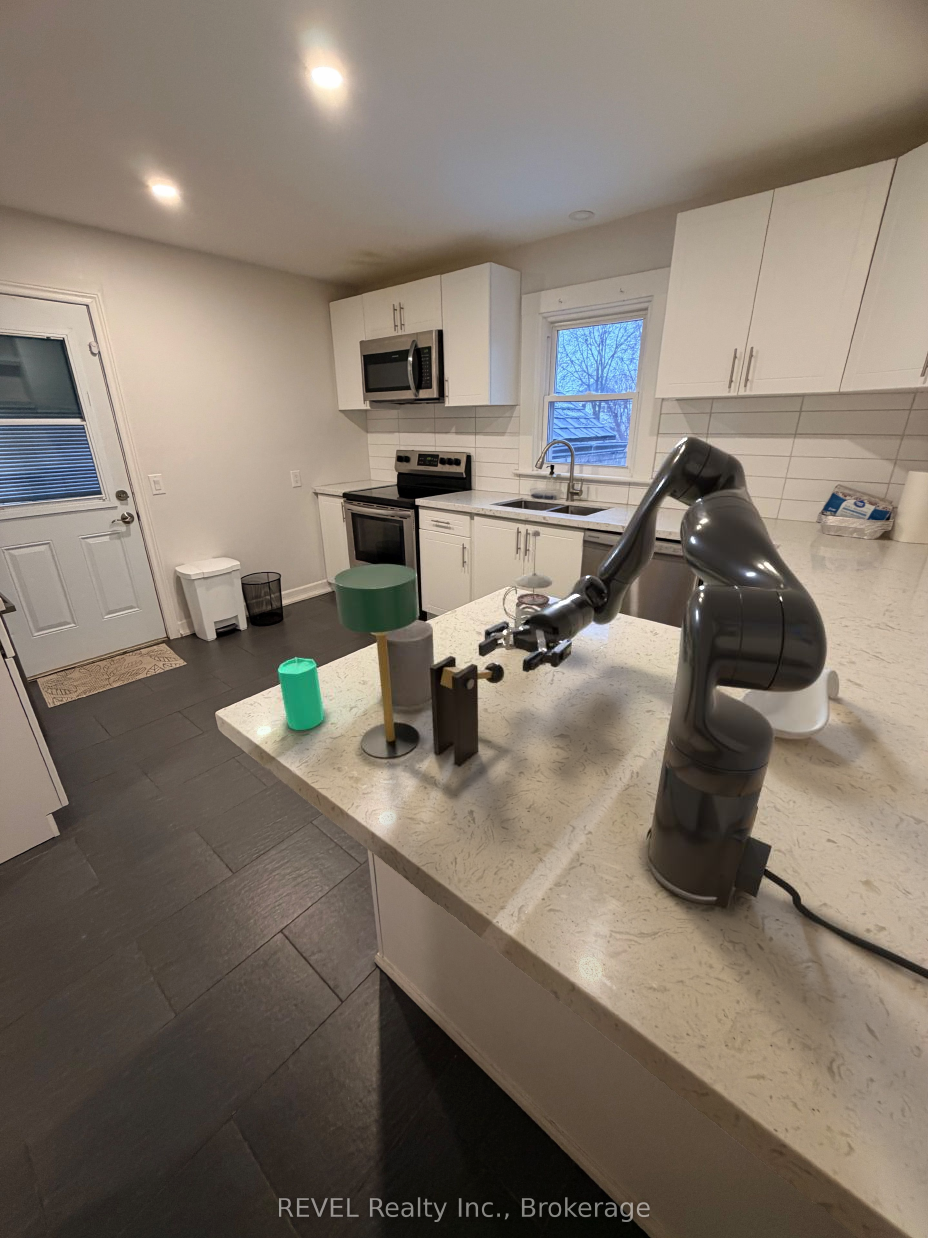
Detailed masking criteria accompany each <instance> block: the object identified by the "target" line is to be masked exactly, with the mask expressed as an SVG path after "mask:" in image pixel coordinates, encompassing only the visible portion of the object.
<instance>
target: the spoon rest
mask: <svg viewBox="0 0 928 1238" xmlns="http://www.w3.org/2000/svg"><path fill="white" fill-rule="evenodd" d="M839 691H840V679H839V674H838V672H837V671H836V670H834V669H830V668H825V667H824V669H823V671H822V673H821V675H820V677H819V678H818V679H817V681H816V682H814V683H813V684H812V685H811V686H810V687H808V688H806V689H803V690H801V691H796V692H769V691H759V690H750V689H749V690H748V691H746V693H745V692H744V694H743V695H742V697H741V698H740V701H742V702H744V703H746V704H748V705H749V706H751V707H753V708H754V709H756V710H757V711H759V712H760V713H761V714H762V715H763V716H765V718H766V719H767V720H768V721H769V722H770V724H771V726H772V727H773V730H774V736H775V737H778V738H782V739H786V740H804V739H807V738H811V737H813V736H815V735H817V734H819V733H820V732H822V731H823V730H824V729H825V728H826V726H827V725H828V723H829V720H830V713H831V711H830V699H829V697H832V698H837V697H838V696H839Z"/></svg>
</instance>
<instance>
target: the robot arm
mask: <svg viewBox="0 0 928 1238" xmlns="http://www.w3.org/2000/svg"><path fill="white" fill-rule="evenodd" d="M667 497H670V498H671V499H673V500H676V501H677V502H679V503H681V504H683V505H685V506H687V507H688V509H686V511H685V512H684V514H683V516H682V519H681V522H680V525H679V538H680V544H681V550H682V555H683V558H684V560H685V563H686V565H687V566H688V567H689V569H690V570H691V572H693V574H694V575H695V576H696V577H698V578H699V579H700V580H701V581H702V582H704V583H705V584H702V585H699V586H697V587H695V589H694V590H693V591H692V592H691V594H690V595H689V597H688V599H687V601H686V603H685V607H684V611H683V615H682V619H681V621H682V622H681V628H680V638H679V648H678V658H677V667H676V669H677V670H676V677H675V684H674V690H673V697H672V701H671V702H672V703H671V710H670V715H669V716H670V717H669V721H668V728H667V732H666V733H667V734H666V739H665V745H664V751H663V757H662V761H661V768H660V774H659V780H658V786H657V791H656V797H655V798H656V799H655V803H654V804H655V805H654V810H653V815H652V822H651V826H650V828H649V829H648V831H647V833H646V839H645V840H648V842H647V844H646V845H647V846H646V851H645V852H646V853H645V856H646V857H645V859H646V863H647V866H648V868H649V871H650V872H651V874H652V876H653V877H654V878H655V879H656V881H658V883H659V884H660V885H662V886H663V887H664V888H665V889H666V890H667V891H669V892H671V893H672V894H673V895H675V896H677V897H680V898H681V899H684V900H687V901H689V902H693V903H697V904H705V905H711V904H712V905H713V904H715V905H718V906H720V907H721V908H723V909H728V908H729V906H730V903H731V901H732V898H733V895H734V894H735V891H736V890H738V891H741V892H743V893H744V894H747V895H749V896H750V897H752V898H754V899H757V897H758V894H759V890H760V887H761V883H762V881H763V877H765V878H767V879H768V880H769V881H770V882H772V883H774V884H775V885H777V886H778V887H780V888H781V889H782V890H784V891H785V892H786V893H787V894H788V895H789V896H790V897H791V902H792V904H793V906H794V908H795V909H796V910H797V911H798V912H799V913H800V914H802V915H803V916H804V917H806V918H807V919H808V920H810V921H812V922H814V923H816V924H818V925H820V926H822V927H823V928H825V929H827V930H829V931H831V932H832V933H834V934H836V935H837V936H839V937H840V938H842V939H844V940H846V941H848V942H849V943H851V944H854V945H855V946H857V947H860V948H861V949H864V950H866V951H868V952H870V953H872V954H874V955H877V956H879V957H882V958H883V959H886V960H888V961H890V962H892V963H894V964H896V965H898V966H900V967H902V968H904V969H906V970H908V971H910V972H912V973H914V974H916V975H918V976H920V977H923V978H924V979H927V980H928V969H927V968H925V967H923V966H921V965H919V964H917V963H915V962H913V961H910V960H909V959H907V958H905V957H903V956H901V955H899V954H896V953H894V952H893V951H890V950H888V949H886V948H884V947H882V946H880V945H877V944H875V943H872V942H870V941H867V940H865V939H863V938H861V937H859V936H856V935H854V934H851V933H849V932H848V931H846V930H843V929H841V928H840V927H838V926H835V925H834V924H831V923H830V922H828V921H826V920H824V919H823V918H821V917H820V916H819V915H817V914H816V913H814V912H813V911H811V910H810V909H809V908H808V907H807V906H805V905H804V904H803V903H802V898H801V896H800V894H799V892H798V891H797V889H796V888H795V887H793V886H792V885H791V884H790V883H789V882H787V881H785V880H784V879H783V878H781V877H780V876H778V875H777V874H775V873H774V872H772V871H771V870H769V869H768V868H767V864H768V862H769V857H770V855H771V851H772V847H773V846H772V845H771V844H768V843H766V842H764V841H761V840H759V839H757V838H755V837H753V836H752V832H753V828H754V824H755V820H756V818H757V815H758V810H759V806H758V804H759V800H760V797H761V792H762V788H763V785H764V781H765V778H766V774H767V771H768V767H769V763H770V760H771V756H772V753H773V749H774V745H775V740H776V739H775V737H776V736H774V730H773V727H772V726H771V724H770V722H769V721H768V720H767V719H766V718H765V716H763V715H762V714H761V713H760V712H759V711H757V710H756V709H754V708H753V707H751V706H749V705H748V704H746V703H744V702H742V701H741V699H740V700H739V699H738V698H735V697H733V696H731V695H729V694H727V693H725V692H723V691H722V690H719V689H718V688H717V687H725V688H726V687H727V688H733V689H743V690H749V691H750V690H759V691H769V692H796V691H801V690H803V689H806V688H808V687H810V686H811V685H812V684H813V683H814V682H816V681H817V679H818V678H819V677H820V675H821V673H822V671H823V669H824V668H825V666H826V661H827V655H828V640H827V639H828V638H827V634H826V633H827V632H826V628H825V623H824V620H823V617H822V614H821V612H820V610H819V608H818V606H817V604H816V602H815V600H814V598H813V597H812V595H811V594H810V593H809V591H808V590H807V589H806V587H805V586H804V584H803V583H802V582H801V581H800V580H799V579H798V577H797V576H796V575H795V573H794V572H793V571H792V569H790V567H789V566H788V565H787V563H786V562H785V561H784V559H783V558H782V556H781V555H780V553H779V551H778V550H777V548H776V546H775V544H774V542H773V541H772V538H771V537H770V533H769V531H768V528H767V526H766V523H765V522H764V520H763V518H762V516H761V514H760V512H759V510H758V508H757V507H756V505H755V504H754V501H753V499H752V497H751V495H750V493H749V491H748V485H747V479H746V473H745V470H744V466H743V464H742V463H741V461H740V460H739V459H738V458H737V457H735V456H734V455H732V454H731V453H729V452H726V451H725V450H722V449H721V448H718V447H717V446H715V445H712V444H710V443H708V442H706V441H704V440H702V439H700V438H698V437H696V436H688V437H684V438H683V439H681V441H679V442H678V443H677V444H676V445H675V447H673V449H672V450H671V451H670V452H669V453H668V455H667V457H666V458H665V459H664V461H663V462H662V464H661V466H660V467H659V469H658V471H657V472H656V474H655V476H654V478H653V479H652V480H651V483H650V484H649V486H648V488H647V489H646V492H644V495H643V496H642V498H641V500H640V502H639V504H638V506H637V507H636V509H635V511H634V512H633V514H632V516H631V517H630V520H629V522H628V524H627V525H626V527H625V529H624V531H623V532H622V534H621V535H620V537H619V538H618V540H617V541H616V542H615V544H614V545H613V547H612V548H611V549H610V551H609V552H608V553H607V554H606V556H605V557H604V559H603V560H602V561H601V563H600V564H599V566H598V568H597V576H598V577H596V576H595V575H584V576H582V577H580V578H578V580H577V581H576V582H575V583H574V584H573V586H572V588H571V589H570V591H569V593H568V594H567V595H566V596H564V597H563V598H561V599H559V600H558V601H554V602H551V603H549V605H548V606H546V607H544V608H542V609H540V608H539V609H538V610H539V611H537V612H535V613H533V614H532V615H530V616H529V617H528V618H527V619H526V621H523V622H524V624H523V625H521V626H517V627H515V628H514V627H513V626H510V622H509V621H508V620H503V621H501V622H499V623H497V624H495V625H493V626H491V627H488V628H486V629H484V640H483V641H480V642H479V643H478V656H479V657H482V658H483V657H486V656H487V655H489V654H491V653H493V652H495V651H496V650H498V649H505V650H506V651H512V650H521V651H525V652H527V653H530V654H529V655H526V657H524V658H523V660H522V672H525V673H529V672H530V671H535V670H536V669H537V668H539V667H541V666H546V665H547V664H550V667H552V668H557V667H559V666H560V665H561V664H562V663H563V662H565V660H567V659H568V658H569V657H570V656H572V646H573V640H572V639H574V638H575V637H577V635H578V634H579V633H581V631H583V630H584V629H586V628H587V627H589V626H590V625H591V624H592V623H593V624H595V625H598V626H604V625H608V624H610V623H611V622H613V621H614V620H615V619H616V618H617V616H618V614H619V613H620V611H621V609H622V607H623V604H624V601H625V598H626V596H627V595H628V592H629V590H630V588H631V586H632V585H633V583H635V581H636V580H637V579H638V578H639V576H640V575H641V574H642V573H643V572H644V571H645V570H646V568H647V567H648V566H649V564H650V563H651V561H652V559H653V556H654V553H655V549H656V539H657V538H656V535H657V534H656V533H657V521H658V516H659V515H658V514H659V511H660V510H661V509H660V508H661V506H662V505H663V503H664V501H665V499H666V498H667ZM511 635H513V642H512V643H510V641H511V639H510V638H511ZM500 640H502V642H499V641H500Z"/></svg>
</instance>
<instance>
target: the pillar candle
mask: <svg viewBox="0 0 928 1238" xmlns="http://www.w3.org/2000/svg"><path fill="white" fill-rule="evenodd" d="M386 640H387V651H388V663H389V675H390V686H391V698H392V706H398V707H413V706H414V707H415V706H419V705H422V704H424V703H427V702H428V701H430V700H431V681H430V667H431V666H433V665H434V664H435V654H434V652H435V651H434V628H433V626H432V624H431V623H430V622H427V621H424V620H419V619H417V620H416V621H415V622H413V623H412V624H410V625H408V626H406V627H403V628H400V629H397V630H392V631H391V632H389V633H388V634H386Z"/></svg>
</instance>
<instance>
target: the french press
mask: <svg viewBox="0 0 928 1238" xmlns="http://www.w3.org/2000/svg"><path fill="white" fill-rule="evenodd" d="M540 536H541V532H540V530H537V529H534V530H532V532H531V537H534V555H533V573H532V572H531V573H527V574H522V575H520V576H518V577H517V578H516V579H515V584H516V585H517V586H519V587H521V588H526V589H532V592H529V593H527V592H526V593H523V594H520V595H518V596H517V597H516V600H517V602H515V615H513V614H511V613H509V612H508V611H507V609H506V606H505V601H506V599H507V597H508V595H509V594H510V593H511V592H513V591H514V592H515V595H517V594H518V589H517V586H515V585H513V586H512V587H509V588H507V590H506V591H505V593H504V594H503V597H502V607H503V611H504V613H505V615H506V616H507V617H508V618H509V619H511V620H514V627H513V628H515V627H517V626H521V625H523V624H524V622H525V621H526V619H527V618H528V617H529V616H530V615H532V614H533V613H535V612H537V611H539V610H540V609H542V608H544V607H546V606H548V605H549V604H550V598H549V596H548V595H546V594H541V593H537V592H535V590H536V589H545V588H549V587H551V586H552V585H553V580H552V579H551V578H550V577H549V576H546V575H544V574H541V573H536V548H537V546H536V545H537V537H540ZM524 605H525V606H524ZM522 606H523V607H522ZM535 607H536V608H535ZM537 608H539V609H537ZM510 641H511V642H512V643H513V635H510Z"/></svg>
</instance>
